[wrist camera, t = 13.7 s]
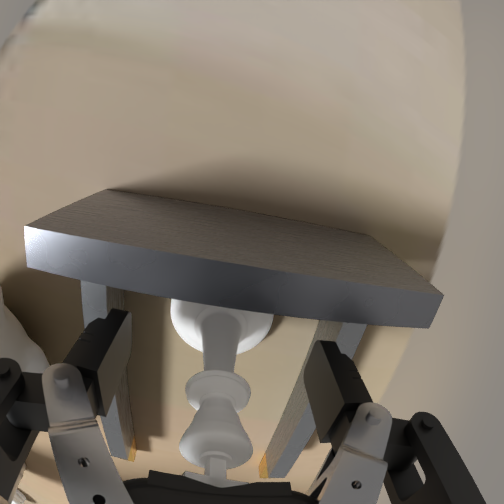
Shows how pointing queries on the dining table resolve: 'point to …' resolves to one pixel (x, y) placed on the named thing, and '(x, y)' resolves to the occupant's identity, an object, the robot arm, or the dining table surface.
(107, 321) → the robot arm
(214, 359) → the chess piece
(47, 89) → the dining table surface
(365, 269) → the bracket
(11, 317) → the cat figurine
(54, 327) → the dining table surface
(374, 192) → the dining table surface
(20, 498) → the round white light
